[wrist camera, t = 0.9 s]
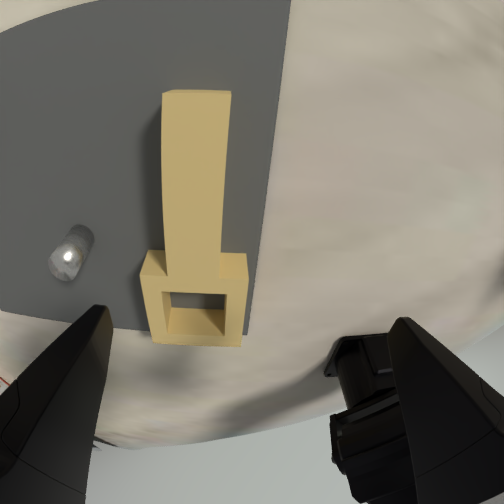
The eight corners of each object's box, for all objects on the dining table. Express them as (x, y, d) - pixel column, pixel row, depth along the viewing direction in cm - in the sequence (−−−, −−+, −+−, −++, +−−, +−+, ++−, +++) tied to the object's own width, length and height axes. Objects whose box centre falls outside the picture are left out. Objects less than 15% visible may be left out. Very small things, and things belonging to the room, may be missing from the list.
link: (239, 320, 23) (240, 346, 21) (157, 317, 22) (153, 342, 20) (264, 93, 14) (270, 97, 12) (141, 90, 13) (126, 95, 11)
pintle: (97, 250, 18) (79, 282, 15) (72, 248, 18) (53, 280, 15) (91, 224, 17) (71, 254, 14) (66, 224, 17) (44, 253, 14)
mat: (246, 332, 24) (247, 335, 24) (2, 308, 21) (1, 310, 21) (290, -2, 11) (291, -3, 11) (-55, 64, 8) (-57, 65, 8)
